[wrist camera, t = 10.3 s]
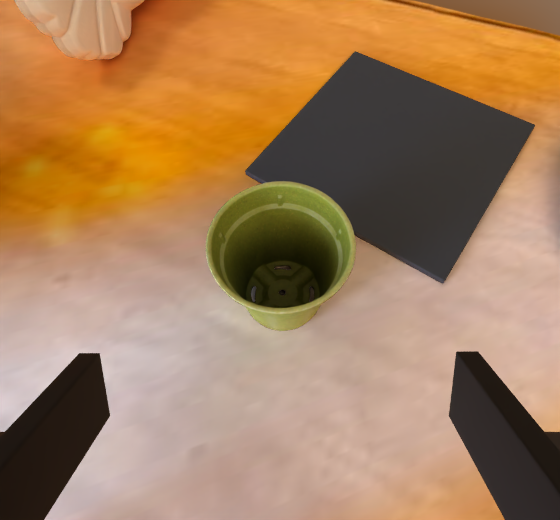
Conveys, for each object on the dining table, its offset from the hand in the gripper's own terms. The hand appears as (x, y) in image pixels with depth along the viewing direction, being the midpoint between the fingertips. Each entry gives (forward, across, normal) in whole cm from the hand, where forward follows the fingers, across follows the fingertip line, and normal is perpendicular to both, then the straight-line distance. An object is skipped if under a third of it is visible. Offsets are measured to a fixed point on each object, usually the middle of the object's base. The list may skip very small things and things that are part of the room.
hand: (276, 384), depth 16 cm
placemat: (+28, +10, +7) cm, 31 cm away
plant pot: (+18, 0, -4) cm, 19 cm away
